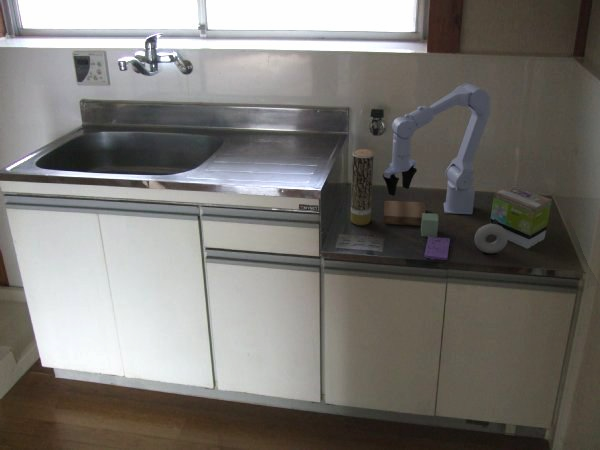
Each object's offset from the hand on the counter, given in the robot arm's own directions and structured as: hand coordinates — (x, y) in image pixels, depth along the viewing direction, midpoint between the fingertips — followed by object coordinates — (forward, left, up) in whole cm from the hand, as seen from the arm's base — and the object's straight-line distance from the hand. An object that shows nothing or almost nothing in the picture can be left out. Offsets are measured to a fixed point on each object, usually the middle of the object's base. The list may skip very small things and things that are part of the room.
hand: (398, 191), depth 218 cm
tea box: (-38, +10, -10) cm, 41 cm away
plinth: (-2, 0, -10) cm, 10 cm away
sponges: (-12, +22, -10) cm, 27 cm away
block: (-10, +11, -10) cm, 18 cm away
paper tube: (+12, +6, -10) cm, 17 cm away
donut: (-28, +22, -10) cm, 37 cm away
